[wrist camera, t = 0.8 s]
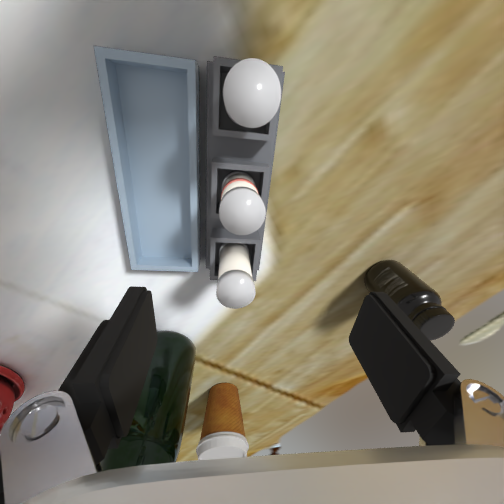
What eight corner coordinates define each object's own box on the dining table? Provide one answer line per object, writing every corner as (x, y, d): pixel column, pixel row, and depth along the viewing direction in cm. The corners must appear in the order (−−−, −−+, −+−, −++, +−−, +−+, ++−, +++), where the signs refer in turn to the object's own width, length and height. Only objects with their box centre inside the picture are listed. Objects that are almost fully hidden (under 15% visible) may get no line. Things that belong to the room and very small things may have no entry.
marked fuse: (222, 168, 29) (219, 188, 20) (256, 171, 29) (268, 192, 21) (221, 202, 31) (218, 234, 22) (253, 204, 31) (262, 236, 23)
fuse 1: (225, 78, 25) (224, 53, 16) (265, 83, 25) (285, 62, 16) (224, 124, 27) (221, 124, 18) (261, 128, 27) (276, 130, 18)
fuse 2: (219, 236, 33) (216, 276, 24) (249, 237, 34) (257, 278, 25) (218, 261, 35) (215, 308, 26) (247, 262, 36) (253, 308, 27)
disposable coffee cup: (193, 396, 53) (185, 464, 42) (217, 372, 49) (214, 440, 39) (229, 407, 56) (229, 473, 46) (253, 386, 53) (259, 451, 42)
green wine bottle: (157, 319, 41) (-7, 779, 12) (207, 343, 45) (170, 735, 16) (128, 353, 45) (-55, 778, 16) (177, 372, 48) (102, 742, 20)
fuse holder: (208, 64, 25) (204, 53, 21) (282, 74, 26) (291, 66, 22) (206, 263, 37) (204, 279, 33) (257, 264, 38) (261, 281, 34)
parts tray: (108, 54, 24) (93, 45, 21) (198, 66, 25) (195, 60, 23) (138, 258, 35) (131, 269, 33) (200, 261, 36) (197, 271, 34)
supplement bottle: (363, 295, 43) (407, 351, 32) (362, 264, 39) (411, 315, 29) (401, 285, 42) (458, 339, 32) (403, 253, 39) (468, 301, 29)
